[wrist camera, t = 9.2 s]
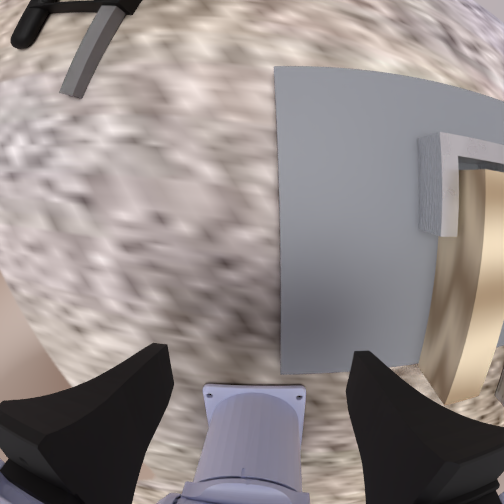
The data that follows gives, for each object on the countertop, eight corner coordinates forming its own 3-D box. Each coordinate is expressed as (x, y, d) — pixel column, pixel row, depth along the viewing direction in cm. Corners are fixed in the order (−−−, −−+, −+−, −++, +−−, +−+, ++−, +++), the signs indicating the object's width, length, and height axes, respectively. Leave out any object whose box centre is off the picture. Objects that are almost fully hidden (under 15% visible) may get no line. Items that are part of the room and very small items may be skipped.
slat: (448, 360, 18) (478, 395, 14) (417, 366, 19) (444, 405, 14) (472, 175, 16) (519, 175, 11) (439, 171, 16) (485, 169, 11)
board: (494, 338, 19) (503, 345, 18) (280, 363, 21) (280, 374, 20) (509, 110, 15) (520, 107, 14) (274, 74, 17) (273, 66, 15)
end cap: (488, 230, 16) (513, 237, 13) (417, 228, 17) (440, 236, 14) (488, 150, 15) (514, 147, 12) (416, 138, 16) (439, 131, 13)
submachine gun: (124, 110, 16) (230, -66, 11) (-14, 78, 16) (58, -53, 11) (146, 117, 19) (237, -43, 15) (7, 82, 19) (74, -41, 14)
